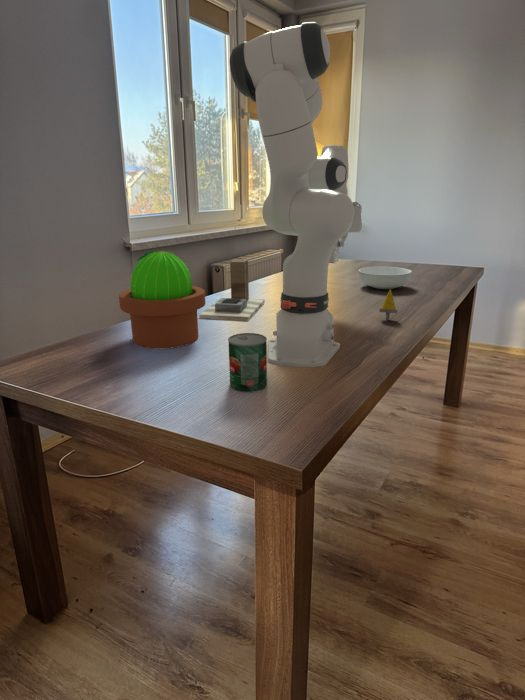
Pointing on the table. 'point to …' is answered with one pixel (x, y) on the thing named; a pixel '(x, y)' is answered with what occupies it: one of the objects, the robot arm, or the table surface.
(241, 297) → the socket board with post
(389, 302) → the yellow cone on disc
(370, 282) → the serving bowl
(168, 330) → the potted cactus
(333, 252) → the gray rectangular block
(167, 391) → the table surface
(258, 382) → the canned tomato
